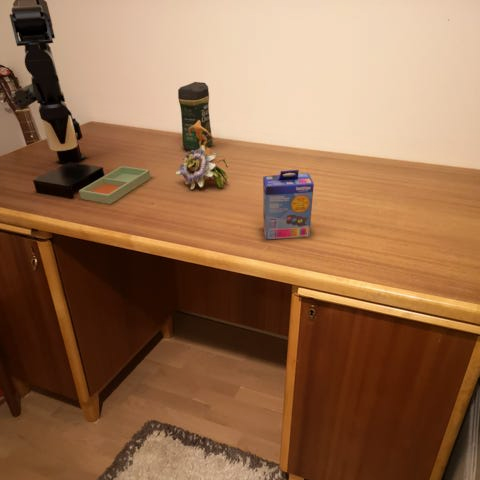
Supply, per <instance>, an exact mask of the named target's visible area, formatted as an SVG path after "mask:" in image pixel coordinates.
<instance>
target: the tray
mask: <svg viewBox="0 0 480 480" xmlns="http://www.w3.org/2000/svg"><path fill="white" fill-rule="evenodd" d="M104 175H105V176H103V177H102V178H100V179H98V180H96V179H95V180H94V181H93V182H91V183H89V184H88V185H86V186H84V187H82V188H81V189H79V190H78V192H79V193H78V194H79V196H80V199H81V200H85V201H89V202H90V201H91V202H96V203H102V204H108V205H112V204H113V203H115V202H116V201H118V200H119V199H121V198H123V197H124V196H125V195H127V194H129V193H130V192H132V191H133V190H135V189H136V188H138V187H140V186H142V184H144V183H145V182H147V181H149V180H150V179H151V178H152V176H151V170H150V169H146V168H138V167H133V166H132V167H131V166H124V165H120V166H119V167H117V168H116V169H114V170H112V171H110V172H109V173H106V174H104Z"/></svg>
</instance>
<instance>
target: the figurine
mask: <svg viewBox="0 0 480 480" xmlns="http://www.w3.org/2000/svg"><path fill="white" fill-rule="evenodd" d="M193 128H194V130H195V132H196V137H197V138H198V139H199V140H200V141H199V145H200V146H201V141H202V139H203V140H204V141H205V142H204V143H203V144H204V146H205V144H206V141H207V138H206V137H205V136H204V134H202V130H203V131H205V132H207V134H208V135H210V136H211V137H212V141H213V140H214V139H215V138H214V136H213V135H211V134H212V133H211V134H210V133H209V132H208V131H207V130H206V129H204V128H203V127H202V126H201V121H200V120H198V121H197V123H196V124H194V125H193V126H191V127H189V136H190V135H191V133H190V129H193ZM204 154H205V155H209V154H213V151H212V149H211V148H210V147H206V146H205V153H204Z"/></svg>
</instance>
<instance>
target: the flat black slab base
mask: <svg viewBox="0 0 480 480" xmlns="http://www.w3.org/2000/svg"><path fill="white" fill-rule="evenodd" d="M105 175H106V174H105V171H104V167H103V166H98V165H92V164H86V163H85V164H84V163H79V162H77V163H71V162H68V163H66V164H64V163H63V164H62V165H60V166H58V167H56V168H53V169H52V170H49V171H48V172H46V173H43V174H42V175H40V176H38V177H36V178H33V179H32V183H33V185H34V188H35V191H36V194H42V195H48V196H53V197H59V198H63V199H70V200H72V199H74V198H75V196H74V192H73V188H72V187H74V186H76V185H77V184H79V183H81V182H82V181H85V180H86V179H90V180H95V181H96V180H98V179H100V178H102V177H103V176H105Z"/></svg>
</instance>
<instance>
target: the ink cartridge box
mask: <svg viewBox="0 0 480 480" xmlns="http://www.w3.org/2000/svg"><path fill="white" fill-rule="evenodd" d="M299 171H300V170H299V169H291V170H290V169H289V170H280V173H279V174H274V175H266V176H262V189H263V190H262V192H263V193H262V195H263V197H262V198H263V200H262V201H263V203H262V206H263V208H262V211H263V214H262V216H263V234H264V239H265V240H266V241H267V240H282V239H297V238H309V237H310V236H311V222H312V211H313V209H312V207H313V197H314V188H315V187H314V185H315V183H314V181H313V179H312V177H311V175H310V173H307V172H305V173H300V172H299Z"/></svg>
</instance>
